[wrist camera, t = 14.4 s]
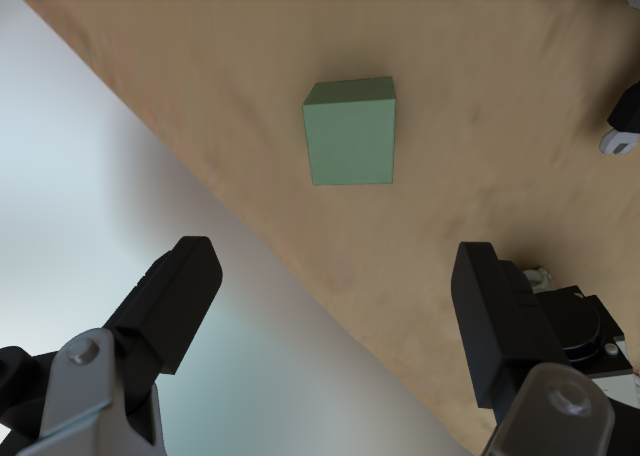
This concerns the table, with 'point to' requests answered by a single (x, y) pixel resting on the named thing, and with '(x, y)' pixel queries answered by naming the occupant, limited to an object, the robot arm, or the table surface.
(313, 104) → the cube
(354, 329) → the table surface
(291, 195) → the table surface
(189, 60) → the table surface
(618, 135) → the robot toy
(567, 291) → the pneumatic valve
